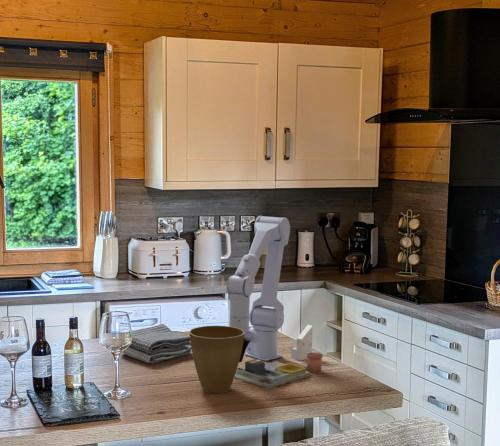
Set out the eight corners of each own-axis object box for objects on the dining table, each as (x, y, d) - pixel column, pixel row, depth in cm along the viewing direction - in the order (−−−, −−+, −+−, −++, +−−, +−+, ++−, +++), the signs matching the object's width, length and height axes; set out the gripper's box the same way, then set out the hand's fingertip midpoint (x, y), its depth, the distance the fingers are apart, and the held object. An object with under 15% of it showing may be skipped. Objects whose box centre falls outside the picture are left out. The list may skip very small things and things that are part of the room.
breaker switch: (244, 372, 216) (245, 360, 216) (254, 369, 219) (254, 358, 219) (254, 375, 214) (255, 363, 213) (264, 372, 216) (264, 361, 216)
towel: (118, 355, 235) (118, 331, 234) (163, 345, 248) (163, 322, 247) (149, 366, 224) (149, 340, 224) (194, 355, 238) (195, 330, 237)
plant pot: (254, 390, 204) (256, 332, 203) (212, 402, 194) (214, 341, 192) (218, 377, 215) (219, 322, 213) (177, 387, 205) (178, 329, 203)
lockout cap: (303, 370, 223) (303, 354, 222) (313, 368, 226) (313, 351, 226) (315, 374, 220) (315, 357, 219) (325, 371, 223) (325, 355, 222)
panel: (232, 376, 216) (232, 368, 216) (275, 364, 229) (275, 356, 228) (267, 388, 206) (268, 379, 206) (310, 375, 219) (310, 367, 218)
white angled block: (319, 346, 241) (312, 325, 237) (303, 367, 235) (295, 346, 231) (310, 344, 243) (303, 323, 239) (293, 365, 237) (286, 344, 233)
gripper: (212, 313, 222) (211, 358, 223) (247, 322, 212) (245, 370, 213) (229, 310, 227) (228, 354, 228) (264, 319, 217) (263, 365, 218)
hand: (238, 361), depth 221 cm, fingers closed
